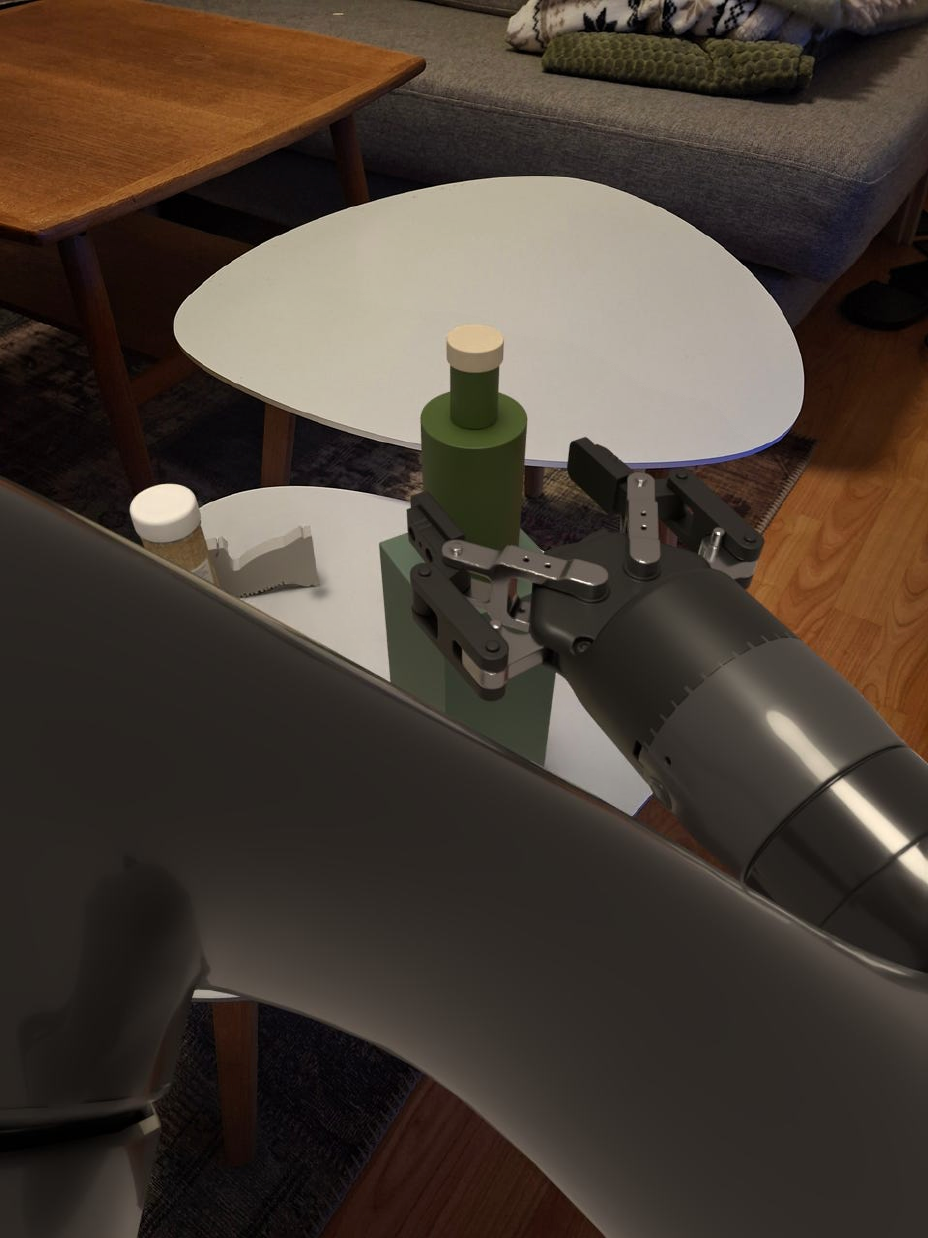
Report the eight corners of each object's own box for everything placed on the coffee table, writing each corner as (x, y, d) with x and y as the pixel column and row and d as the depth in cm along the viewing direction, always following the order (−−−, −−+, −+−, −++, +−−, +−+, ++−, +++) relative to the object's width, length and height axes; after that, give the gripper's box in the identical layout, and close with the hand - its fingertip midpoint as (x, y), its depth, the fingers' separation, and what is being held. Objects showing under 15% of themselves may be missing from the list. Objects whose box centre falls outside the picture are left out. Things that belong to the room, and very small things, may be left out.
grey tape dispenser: (318, 586, 75) (198, 604, 73) (316, 575, 76) (197, 593, 74) (311, 534, 71) (183, 552, 69) (309, 524, 72) (183, 541, 70)
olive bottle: (453, 604, 45) (453, 379, 36) (408, 548, 48) (397, 326, 39) (535, 571, 47) (555, 348, 38) (487, 519, 50) (494, 300, 41)
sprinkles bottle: (229, 609, 73) (195, 477, 63) (231, 649, 70) (196, 517, 60) (172, 617, 72) (129, 485, 63) (172, 658, 69) (126, 526, 59)
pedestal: (447, 835, 59) (444, 628, 44) (396, 754, 63) (378, 542, 49) (541, 788, 61) (568, 577, 47) (486, 713, 66) (494, 500, 51)
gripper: (910, 580, 31) (631, 369, 41) (580, 740, 26) (352, 457, 36) (842, 710, 37) (610, 497, 46) (558, 864, 32) (365, 589, 41)
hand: (498, 480), depth 41 cm, fingers open, 8 cm apart
